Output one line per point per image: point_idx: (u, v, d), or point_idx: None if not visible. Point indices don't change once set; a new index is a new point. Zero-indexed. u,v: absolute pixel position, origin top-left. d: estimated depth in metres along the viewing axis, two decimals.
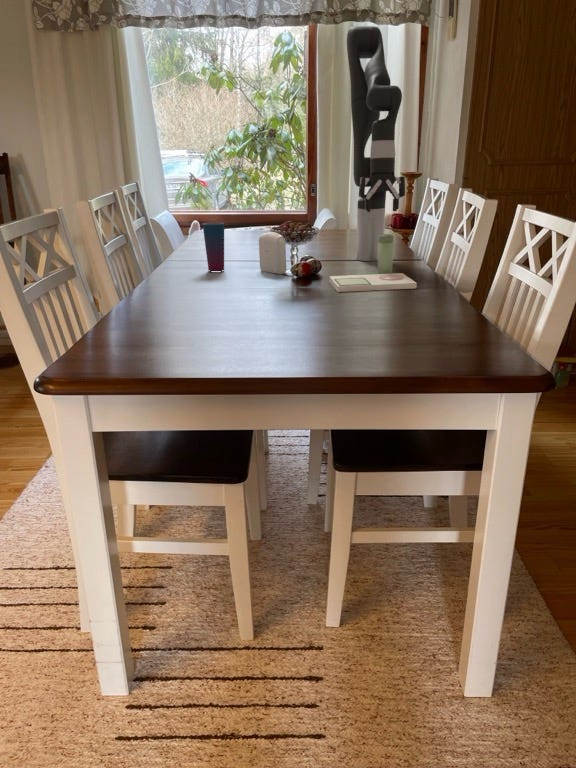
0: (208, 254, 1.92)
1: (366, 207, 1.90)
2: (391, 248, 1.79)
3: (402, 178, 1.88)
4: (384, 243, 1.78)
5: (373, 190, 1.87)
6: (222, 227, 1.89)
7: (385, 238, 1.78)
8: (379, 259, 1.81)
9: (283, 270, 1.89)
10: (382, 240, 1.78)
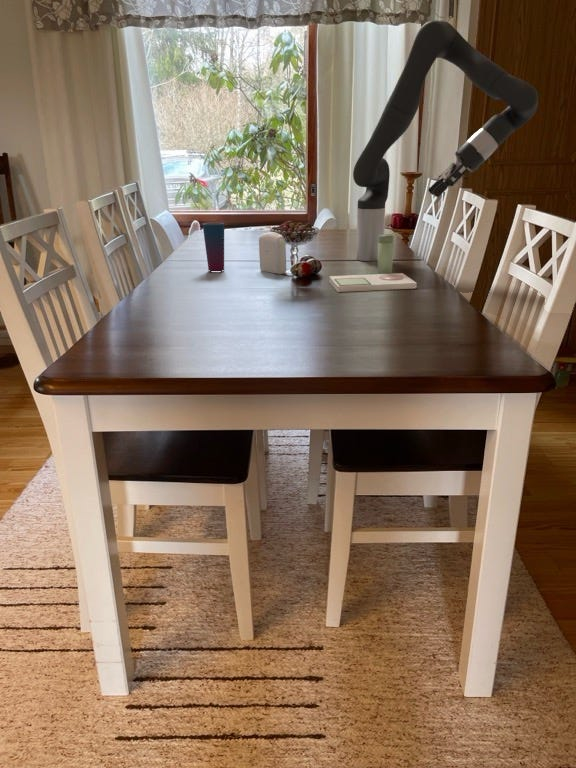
0: (208, 254, 1.92)
1: (440, 193, 1.69)
2: (391, 248, 1.79)
3: None
4: (384, 243, 1.78)
5: None
6: (222, 227, 1.89)
7: (385, 238, 1.78)
8: (379, 259, 1.81)
9: (283, 270, 1.89)
10: (382, 240, 1.78)
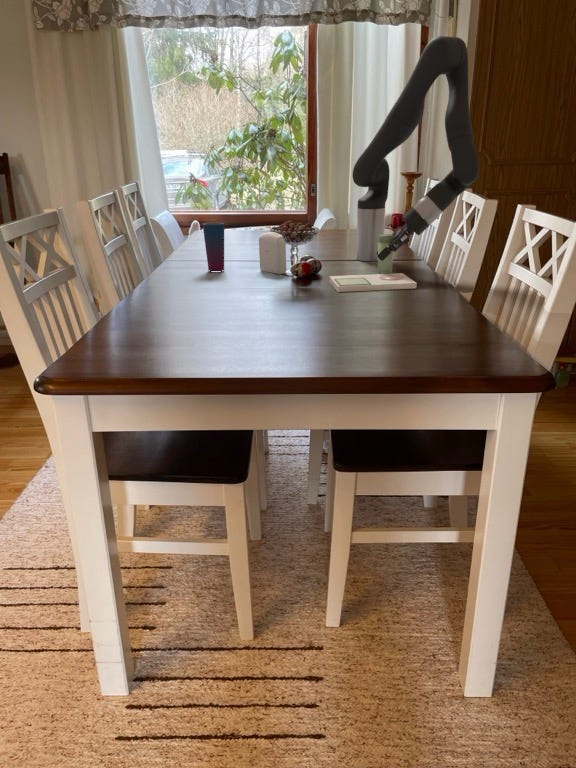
0: (208, 254, 1.92)
1: (384, 257, 1.79)
2: None
3: None
4: (384, 243, 1.78)
5: None
6: (222, 227, 1.89)
7: (385, 238, 1.78)
8: (379, 259, 1.81)
9: (283, 270, 1.89)
10: (382, 240, 1.78)
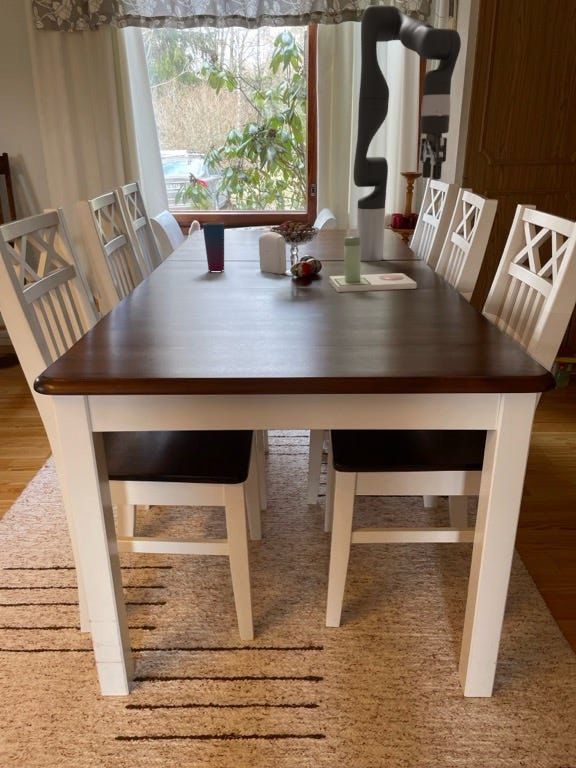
0: (208, 254, 1.92)
1: None
2: (358, 251, 1.65)
3: None
4: (350, 246, 1.64)
5: None
6: (222, 227, 1.89)
7: (350, 241, 1.63)
8: (345, 263, 1.67)
9: (283, 270, 1.89)
10: (347, 243, 1.64)
